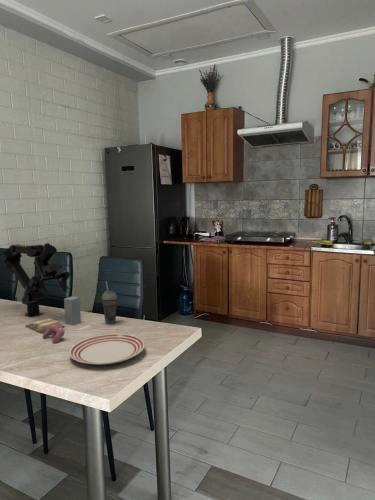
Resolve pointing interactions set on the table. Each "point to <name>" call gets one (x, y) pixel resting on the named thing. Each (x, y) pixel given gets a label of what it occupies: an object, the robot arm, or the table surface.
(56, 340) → the video game controller
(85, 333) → the table surface
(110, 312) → the beverage cup
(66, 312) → the slate pillar block
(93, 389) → the table surface
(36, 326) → the build board
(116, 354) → the dinner plate
